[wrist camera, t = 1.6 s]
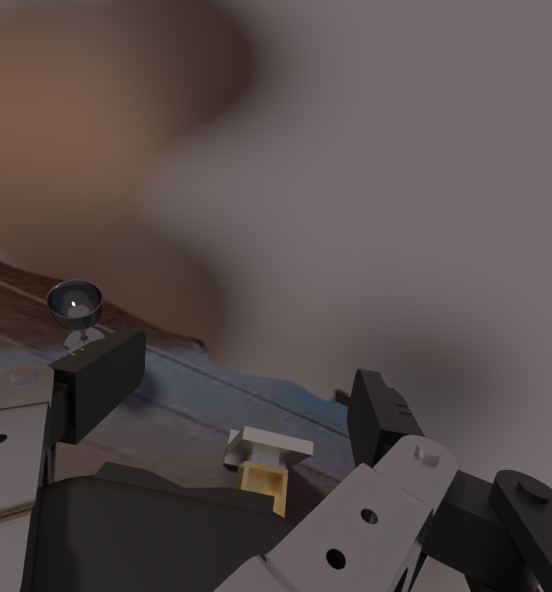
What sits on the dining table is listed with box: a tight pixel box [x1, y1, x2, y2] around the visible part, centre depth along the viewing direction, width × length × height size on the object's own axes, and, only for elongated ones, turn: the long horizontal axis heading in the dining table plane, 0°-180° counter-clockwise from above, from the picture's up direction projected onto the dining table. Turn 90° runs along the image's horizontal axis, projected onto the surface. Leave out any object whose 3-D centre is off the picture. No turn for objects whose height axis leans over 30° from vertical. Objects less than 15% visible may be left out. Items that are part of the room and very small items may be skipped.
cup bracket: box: [222, 426, 313, 517], centre depth 54 cm, size 14×12×14 cm
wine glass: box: [47, 280, 105, 354], centre depth 59 cm, size 8×8×15 cm
